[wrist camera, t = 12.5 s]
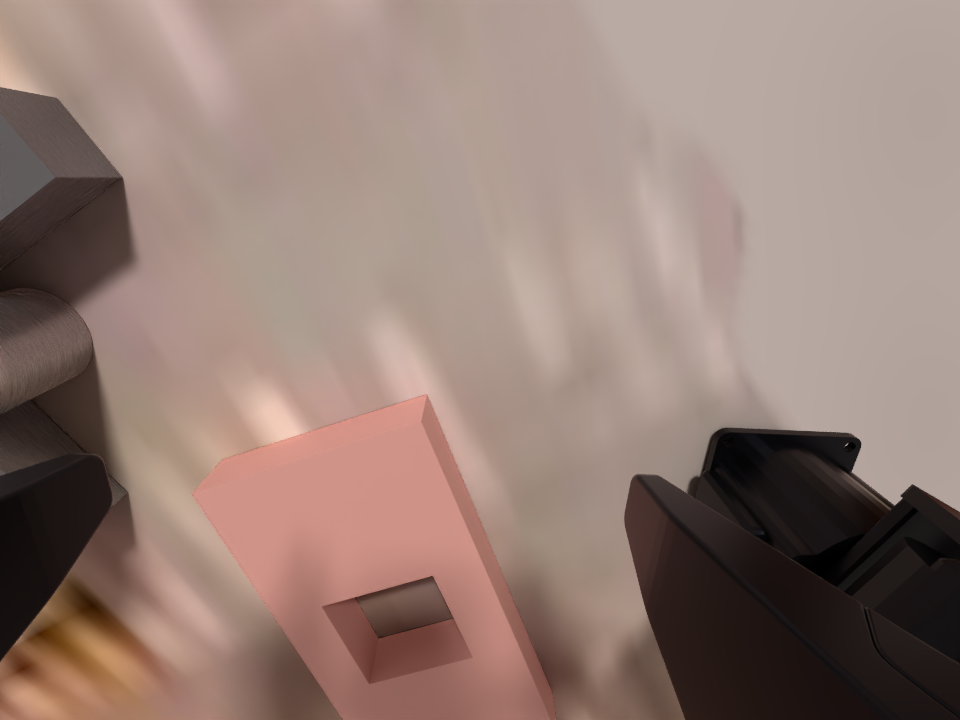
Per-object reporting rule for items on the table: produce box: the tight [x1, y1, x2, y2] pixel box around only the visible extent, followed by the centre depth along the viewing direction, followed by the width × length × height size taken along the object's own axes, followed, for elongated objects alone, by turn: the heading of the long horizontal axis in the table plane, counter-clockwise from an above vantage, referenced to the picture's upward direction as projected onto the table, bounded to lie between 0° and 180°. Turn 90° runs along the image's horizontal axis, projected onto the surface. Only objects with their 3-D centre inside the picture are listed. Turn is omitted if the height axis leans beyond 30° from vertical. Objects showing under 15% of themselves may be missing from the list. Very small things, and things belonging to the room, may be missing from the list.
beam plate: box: [192, 394, 556, 720], centre depth 24 cm, size 20×10×2 cm, turn 19°
